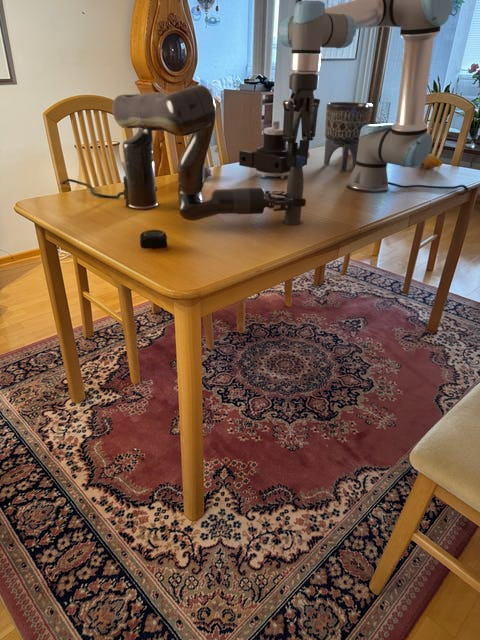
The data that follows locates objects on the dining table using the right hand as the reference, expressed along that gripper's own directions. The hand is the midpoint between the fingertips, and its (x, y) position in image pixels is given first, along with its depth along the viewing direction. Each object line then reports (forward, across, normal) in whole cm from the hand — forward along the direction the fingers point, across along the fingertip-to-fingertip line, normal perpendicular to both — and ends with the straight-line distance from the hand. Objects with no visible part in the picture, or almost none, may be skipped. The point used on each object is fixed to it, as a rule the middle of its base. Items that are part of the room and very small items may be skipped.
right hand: (296, 165), depth 130 cm
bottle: (+17, 0, 0) cm, 17 cm away
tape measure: (+17, +44, -10) cm, 48 cm away
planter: (+17, -81, -35) cm, 90 cm away
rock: (+17, -14, -61) cm, 65 cm away
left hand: (+10, -2, +2) cm, 10 cm away
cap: (-2, 0, 0) cm, 2 cm away
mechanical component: (+17, -49, -46) cm, 69 cm away
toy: (+17, -112, -8) cm, 114 cm away
